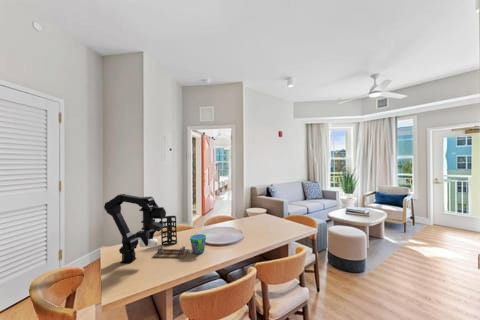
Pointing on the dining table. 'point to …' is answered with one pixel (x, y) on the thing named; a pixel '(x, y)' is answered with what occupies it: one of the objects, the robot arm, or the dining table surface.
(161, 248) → the cradle
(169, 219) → the holder
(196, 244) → the snack cup
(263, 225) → the dining table surface
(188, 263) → the dining table surface
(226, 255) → the dining table surface
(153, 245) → the roll
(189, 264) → the dining table surface
